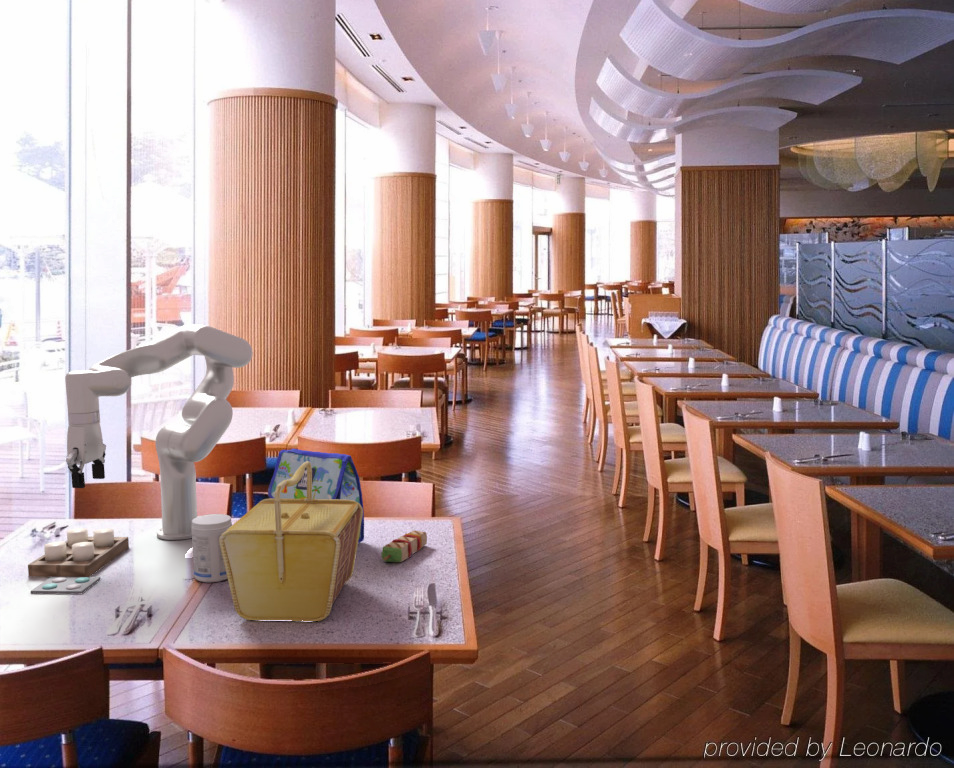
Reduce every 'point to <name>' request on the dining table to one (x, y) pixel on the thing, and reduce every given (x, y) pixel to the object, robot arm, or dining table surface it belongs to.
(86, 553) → the button
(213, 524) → the supplement tub
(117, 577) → the dining table surface
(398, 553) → the skewer
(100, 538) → the button
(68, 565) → the button box
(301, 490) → the lunch bag
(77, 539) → the button
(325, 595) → the picnic basket
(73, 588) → the tile
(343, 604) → the dining table surface
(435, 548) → the dining table surface
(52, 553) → the button
